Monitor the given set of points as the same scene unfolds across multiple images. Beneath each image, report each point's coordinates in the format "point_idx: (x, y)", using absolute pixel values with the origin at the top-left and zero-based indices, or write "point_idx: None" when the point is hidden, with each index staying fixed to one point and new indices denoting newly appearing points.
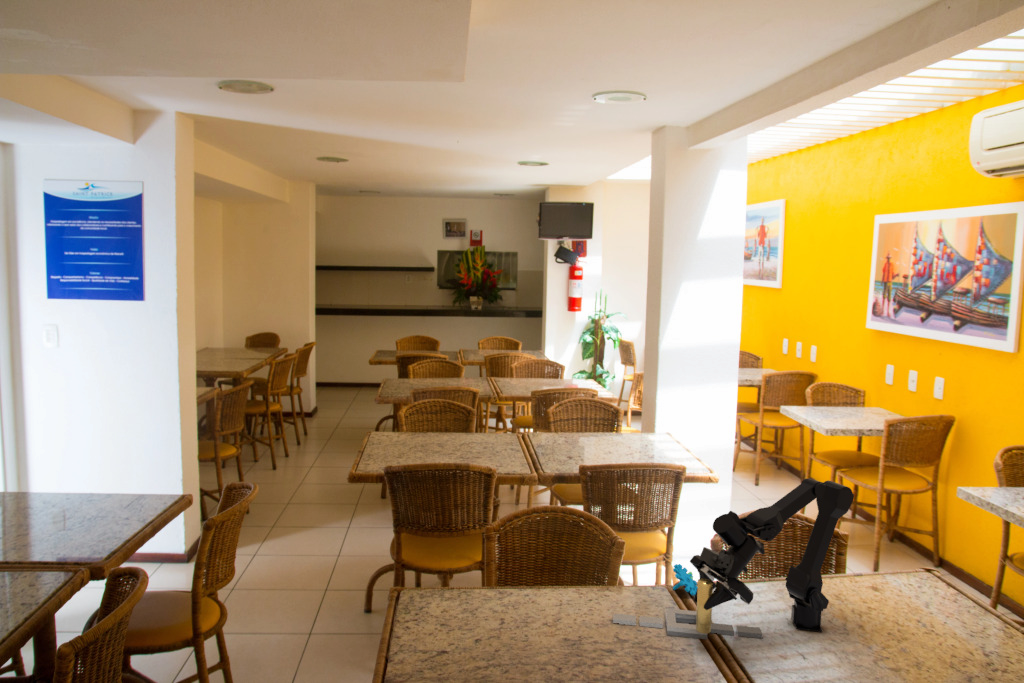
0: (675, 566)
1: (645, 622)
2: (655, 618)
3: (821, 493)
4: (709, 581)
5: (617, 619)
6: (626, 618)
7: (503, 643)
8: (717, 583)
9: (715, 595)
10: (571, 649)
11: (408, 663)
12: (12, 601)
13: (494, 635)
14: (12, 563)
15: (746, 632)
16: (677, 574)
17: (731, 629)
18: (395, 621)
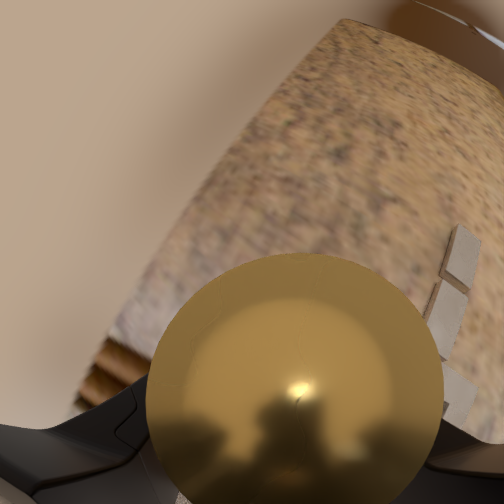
0: None
1: (437, 293)
2: (450, 337)
3: None
4: (276, 483)
5: (456, 231)
6: (460, 255)
7: (390, 73)
8: (28, 461)
9: (106, 403)
10: (360, 112)
11: (357, 26)
12: (436, 9)
13: (411, 77)
14: (470, 24)
15: None
16: None
17: None
18: (436, 52)
